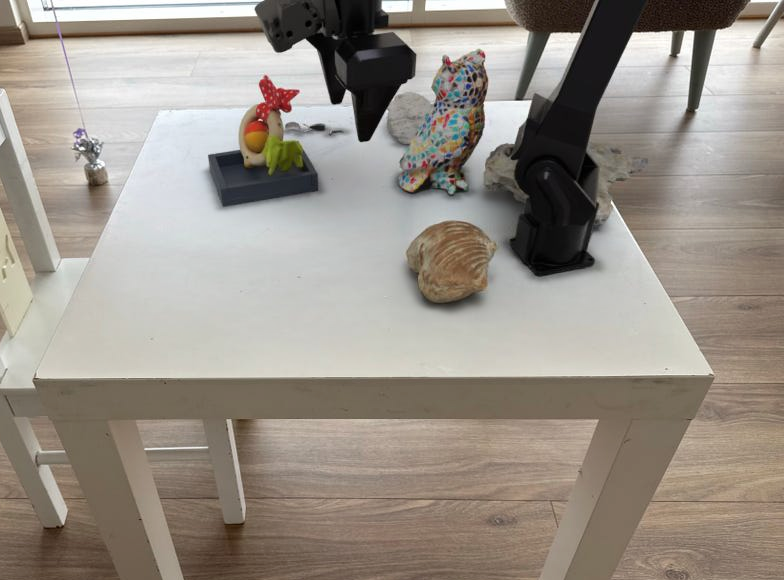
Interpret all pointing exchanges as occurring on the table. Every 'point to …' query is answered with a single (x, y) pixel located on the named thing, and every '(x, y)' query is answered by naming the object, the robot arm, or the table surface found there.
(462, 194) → the table surface
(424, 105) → the stone
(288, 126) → the toy
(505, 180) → the fossil rock
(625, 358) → the table surface
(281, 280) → the table surface
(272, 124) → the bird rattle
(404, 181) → the figurine
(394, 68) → the robot arm
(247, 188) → the display tray
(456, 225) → the seashell
